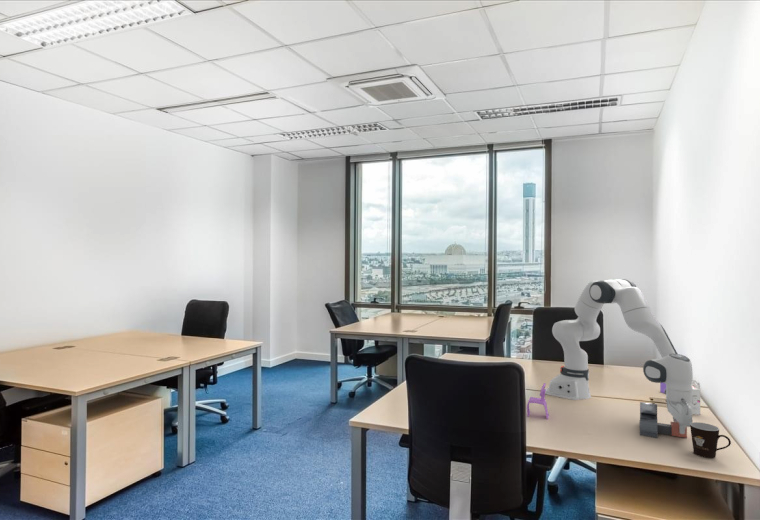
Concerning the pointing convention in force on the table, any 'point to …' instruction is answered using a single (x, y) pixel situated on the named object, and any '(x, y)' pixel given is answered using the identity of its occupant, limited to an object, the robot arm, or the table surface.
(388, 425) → the table surface
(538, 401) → the toy chair
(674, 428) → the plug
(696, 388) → the ink cartridge box
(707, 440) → the coffee mug
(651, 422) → the housing
